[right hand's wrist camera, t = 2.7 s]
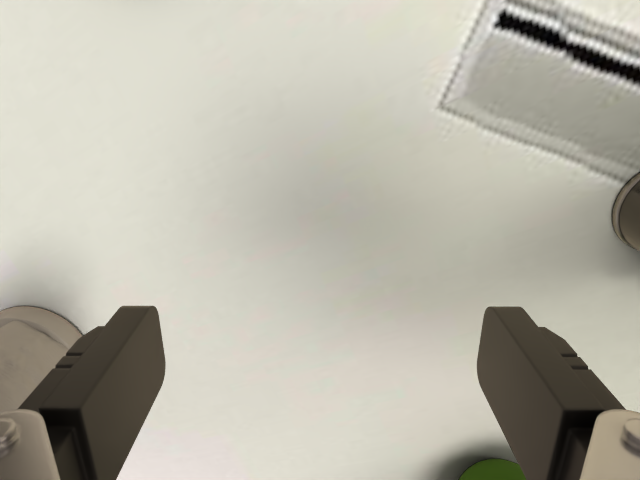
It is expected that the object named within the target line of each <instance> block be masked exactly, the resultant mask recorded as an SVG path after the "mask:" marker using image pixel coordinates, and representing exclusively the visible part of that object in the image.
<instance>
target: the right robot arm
mask: <svg viewBox="0 0 640 480" xmlns="http://www.w3.org/2000/svg"><path fill="white" fill-rule="evenodd" d="M612 220H613V226H614V230H615V232H616V234H617V235H618V237H619V238H620V239H621V240H622V241H623V242H624V243H625V244H627V245H629V246H630V247H632V248H634V249H636V250H638V251H640V173H639V174H637V175H636V176H635V177H634V178H632V179H631V180H630V181H629V182H628V183H627V184H626V185H625V187H624V188H623V189H622V191H621V192H620V194H619V196H618V197H617V200H616V202H615V205H614V208H613V216H612ZM477 374H478V380H479V383H480V386H481V389H482V391H483V393H484V395H485V397H486V399H487V401H488V403H489V405H490V407H491V409H492V411H493V413H494V415H495V417H496V419H497V421H498V423H499V425H500V427H501V429H502V431H503V433H504V435H505V437H506V439H507V441H508V443H509V445H510V447H511V449H512V451H513V453H514V455H515V457H516V459H517V461H518V463H519V466H520V468H521V470H522V472H523V474H524V476H525V478H526V480H640V413H638V412H634V411H630V410H626V409H625V408H624V407H623V406H622V405H621V403H620V402H619V401H618V400H617V399H616V398H615V397H614V395H613V394H612V393H611V392H610V391H609V390H608V389H607V388H606V386H605V385H604V384H603V383H602V382H601V381H600V380H599V378H598V377H597V376H596V375H595V374H594V373H593V372H592V370H588V366H587V365H586V364H585V362H584V361H583V360H582V359H581V358H580V357H577V353H576V352H575V351H574V350H573V349H572V348H571V347H570V345H569V344H568V343H567V342H566V341H565V340H564V339H563V338H561V337H559V336H558V335H556V334H555V333H553V332H552V331H550V330H548V329H547V328H545V327H538V326H537V325H536V324H535V323H534V321H533V320H532V319H531V318H530V316H529V315H528V314H527V313H526V312H525V310H524V309H523V308H521V307H488V308H487V309H486V311H485V314H484V319H483V325H482V332H481V339H480V345H479V352H478V359H477ZM164 375H165V355H164V348H163V342H162V335H161V328H160V321H159V315H158V311H157V309H156V307H154V306H122V307H120V308H119V309H118V311H117V312H116V313H115V314H114V315H113V317H112V318H111V319H110V320H109V322H108V323H107V324H106V325H105V326H98V327H96V328H95V329H93V330H91V331H90V332H88V333H87V334H85V335H84V336H82V337H80V338H79V339H78V340H77V341H76V342H75V343H74V345H73V346H72V347H71V348H70V349H69V350H68V351H67V353H66V356H63V357H62V358H61V359H60V361H59V362H58V363H57V364H56V365H55V368H53V369H52V370H51V371H50V372H49V373H48V374H47V376H46V377H45V378H44V379H43V380H42V381H41V382H40V384H39V385H38V386H37V387H36V388H35V389H34V390H33V392H32V393H31V394H30V395H29V396H28V397H27V399H26V400H25V401H24V402H23V403H22V404H21V405H20V407H19V408H18V409H17V410H10V411H6V412H2V413H0V480H116V479H117V477H118V475H119V473H120V470H121V468H122V466H123V464H124V462H125V460H126V458H127V456H128V454H129V452H130V450H131V448H132V446H133V444H134V442H135V440H136V438H137V436H138V434H139V431H140V429H141V427H142V425H143V423H144V421H145V419H146V417H147V415H148V413H149V411H150V409H151V407H152V405H153V403H154V401H155V399H156V397H157V395H158V393H159V390H160V388H161V386H162V384H163V380H164Z"/></svg>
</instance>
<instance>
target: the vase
mask: <svg viewBox="0 0 640 480" xmlns="http://www.w3.org/2000/svg"><path fill="white" fill-rule="evenodd" d="M459 480H526V478H525V476H524V474H523V472H522V470H521V468H520V466H519V464H517V463H514V462H511V461H508V460H503V459H487V460H483V461H480V462H478V463H475V464H474V465H472V466H470V467H469V468H468V469H467V470H465V472H464V473H463V474H462V475H461V477H460V478H459Z"/></svg>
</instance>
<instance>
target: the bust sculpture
mask: <svg viewBox="0 0 640 480" xmlns="http://www.w3.org/2000/svg"><path fill="white" fill-rule="evenodd" d="M80 337H82V335H81V334H80V332H79V331H78V330H77V329H76V328H75V327H74V326H73V325H72V324H71V323H69V322H68V321H67V320H65V319H64V318H62V317H60V316H59V315H57V314H55V313H53V312H50V311H47V310H44V309H41V308H36V307H29V306H19V307H12V308H8V309H5V310H2V311H0V413H2V412H6V411H10V410H17V409H18V408H19V407H20V405H21V404H22V403H23V402H24V401H25V400H26V399H27V397H28V396H29V395H30V394H31V393H32V392H33V390H34V389H35V388H36V387H37V386H38V385H39V384H40V382H41V381H42V380H43V379H44V378H45V377H46V376H47V374H48V373H49V372H50V371H51V370H52V369H53V368H55V365H56V364H57V363H58V362H59V361H60V359H61V358H62V357H63V356H66V353H67V351H68V350H69V349H70V348H71V347H72V346H73V345H74V343H75V342H76V341H77V340H78V339H79V338H80Z"/></svg>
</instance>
